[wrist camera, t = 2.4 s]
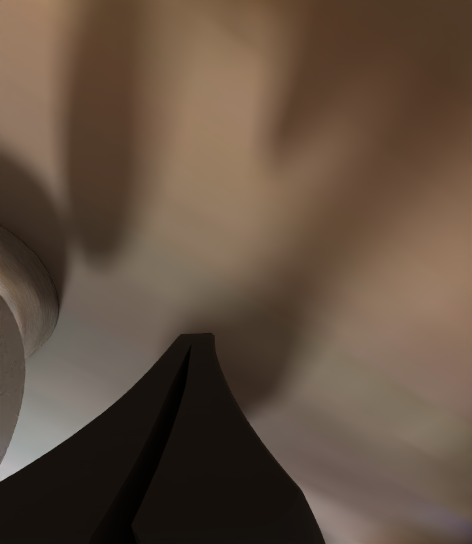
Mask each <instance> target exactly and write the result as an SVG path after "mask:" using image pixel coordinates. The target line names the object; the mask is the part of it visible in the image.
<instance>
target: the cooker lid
mask: <svg viewBox="0 0 472 544" xmlns="http://www.w3.org/2000/svg"><path fill="white" fill-rule="evenodd" d="M24 383H25V355H24V347H23V342H22V337H21V333H20V330H19V327H18V324H17V322H16V319H15V317H14V315H13V313H12V311H11V309H10V308H9V306H8V304H7V303H6V301H5V300H4V299H3V297H2V296H1V295H0V464H1V462H2V460H3V458H4V455H5V453H6V451H7V448H8V446H9V443H10V441H11V438H12V435H13V432H14V429H15V427H16V424H17V420H18V416H19V412H20V408H21V404H22V398H23V393H24Z"/></svg>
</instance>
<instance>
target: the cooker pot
mask: <svg viewBox="0 0 472 544" xmlns="http://www.w3.org/2000/svg"><path fill="white" fill-rule="evenodd" d="M0 295H1V296H2V297H3V299H4V300H5V301H6V303H7V304H8V306H9V308H10V309H11V311H12V313H13V315H14V317H15V319H16V322H17V324H18V327H19V330H20V333H21V337H22V342H23V347H24V355H25V360H26V359H27V358H28V357H29V356H30V355H31V354H33V353H34V352H35V351H36V350H37V349H38V348H39V347H41V346H42V345H43V344H44V343H45V342H46V341H47V340H48V338H49V337H50V335H51V334H52V332H53V330H54V328H55V326H56V322H57V318H58V309H59V307H58V297H57V293H56V289H55V286H54V284H53V281H52V279H51V277H50V275H49V273H48V271H47V269H46V268H45V266H44V265H43V263H42V262H41V260H40V259H39V258H38V257H37V256H36V255H35V253H34V252H33V251H32V250H31V249H30V248H29V247H28V246H27V245H26V244H25V243H24V242H23V241H21V240H20V239H19V238H17V237H16V236H15V235H14V234H12V233H11V232H9V231H8V230H6V229H4V228H3V227H1V226H0Z"/></svg>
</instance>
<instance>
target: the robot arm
mask: <svg viewBox="0 0 472 544" xmlns="http://www.w3.org/2000/svg"><path fill="white" fill-rule="evenodd" d="M0 544H325V541H324V538H323V536H322V533H321V531H320V528H319V526H318V524H317V521H316V519H315V517H314V515H313V513H312V511H311V508H310V506H309V504H308V502H307V500H306V498H305V496H304V494H303V492H302V490H301V489H300V488H299V486H298V485H297V484H296V483H295V482H294V481H293V480H292V478H291V477H290V476H289V475H288V474H287V473H286V471H285V470H284V469H283V468H282V467H281V465H280V464H279V463H278V462H277V461H276V459H275V458H274V457H273V456H272V454H271V453H270V452H269V450H268V449H267V448H266V446H265V445H264V444H263V443H262V441H261V440H260V438H259V437H258V435H257V434H256V432H255V431H254V429H253V428H252V427H251V425H250V424H249V422H248V421H247V419H246V418H245V416H244V414H243V413H242V411H241V409H240V408H239V406H238V404H237V402H236V400H235V399H234V397H233V395H232V393H231V391H230V389H229V387H228V385H227V382H226V380H225V378H224V375H223V373H222V370H221V368H220V365H219V362H218V359H217V355H216V351H215V339H214V335H213V334H212V333H202V334H180V336H179V337H178V338H177V339H176V340H175V341H174V342H173V344H172V345H171V346H170V347H169V348H168V350H167V351H166V352H165V353H164V354H163V355H162V356H161V358H160V359H159V360H158V361H157V362H156V363H155V364H154V365H153V366H152V368H151V369H150V370H149V371H148V372H147V373H146V374H145V375H144V376H143V377H142V378H141V379H140V380H139V381H138V382H137V383H136V384H135V385H134V386H133V387H132V388H131V389H130V390H129V391H128V392H127V393H126V394H124V395H123V396H122V397H121V398H120V399H119V400H118V401H116V402H115V403H114V404H113V405H112V406H110V407H109V408H108V409H107V410H106V411H104V412H103V413H102V414H101V415H99V416H98V417H97V418H95V419H94V420H93V421H91V422H90V423H89V424H87V425H86V426H85V427H83V428H82V429H81V430H79V431H78V432H77V433H75V434H74V435H73V436H71V437H70V438H68V439H67V440H65V441H64V442H62V443H61V444H60V445H58V446H57V447H55V448H54V449H52V450H51V451H49V452H48V453H46V454H44V455H43V456H41V457H40V458H38V459H37V460H35V461H34V462H32V463H31V464H29V465H27V466H26V467H24V468H22V469H21V470H19V471H18V472H16V473H14V474H13V475H11V476H9V477H7V478H6V479H4V480H2V481H1V482H0Z"/></svg>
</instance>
